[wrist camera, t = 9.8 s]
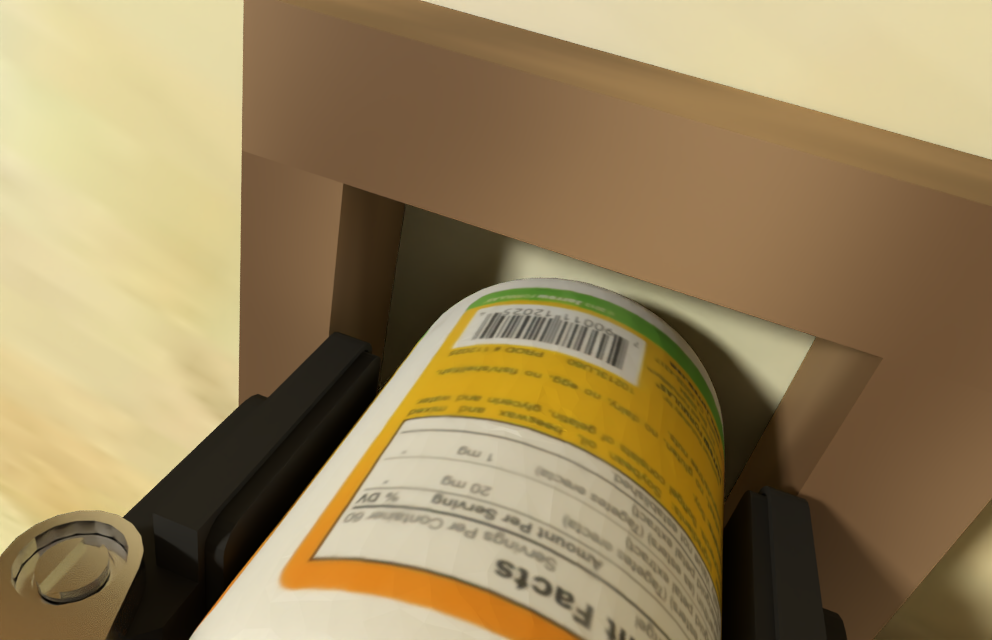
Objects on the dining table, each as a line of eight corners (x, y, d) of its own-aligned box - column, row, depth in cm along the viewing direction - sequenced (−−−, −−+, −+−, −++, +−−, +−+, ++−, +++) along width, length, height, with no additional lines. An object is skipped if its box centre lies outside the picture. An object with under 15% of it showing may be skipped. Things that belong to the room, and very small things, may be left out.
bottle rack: (1883, 409, 8) (2303, 584, 6) (1176, 835, 14) (1256, 999, 12) (341, -22, 10) (243, -9, 8) (300, 490, 16) (236, 574, 14)
